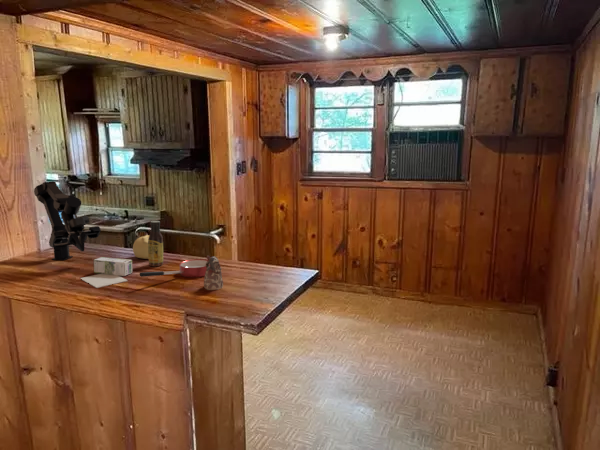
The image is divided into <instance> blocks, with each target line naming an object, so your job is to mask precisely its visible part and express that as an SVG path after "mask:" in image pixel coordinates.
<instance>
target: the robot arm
mask: <svg viewBox="0 0 600 450" xmlns="http://www.w3.org/2000/svg"><path fill="white" fill-rule="evenodd" d="M33 193H34V197H36V199H37V200H38V202H40V203H41V204H43V207H44V210H45V212H46V215H47V217H48V219H49V222H50V225H51V227H52V230H51V233H50V236H49V241H48V243H49V247H50V248H53V256H54V257H52V258H51V260H52V261H53V260H54V261H66V260H70V259H71V258H73V257H74V255H70V246H74V247H76V248H77V249H78V250H80V251H81V252H85V241H87V238H89V239H97V238H98V237H99V236H100V235H101V231H102V229H101V227H100V226H99V225H94V226H89V227H88V229H87V230H84V229H85V226H86V225H87V224H89V223H90V218H89V216H88V215H83V216H82V217H78V215H77V214H79V211H80V208H81V207H82V200H81V199H80V198H79V197H76V196H75V195H73V194H65V193H63V191H62V190H61V189H60V188H59V186H58V185H57V182H56V181H52V180H51V181H43V182H42V183H40V184H39V185H36V186H35V188H34V189H33ZM59 212H60V213H59Z"/></svg>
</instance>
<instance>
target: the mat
mask: <svg viewBox="0 0 600 450" xmlns="http://www.w3.org/2000/svg"><path fill="white" fill-rule="evenodd" d="M81 279H82V281H83V282H85V283H87V284H88V283H89V284H88V285H90V286H92V287H94V288H96V289H99V288H103V287H107V286H111V285H112V284H113V285H116V284H120V283H126V282H129V280H128V279H126V278H123V276H119V275H109V274H99V273H97V274H94V275H89V276H85V277H80V280H81Z"/></svg>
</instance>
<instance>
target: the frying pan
mask: <svg viewBox="0 0 600 450" xmlns="http://www.w3.org/2000/svg"><path fill="white" fill-rule="evenodd" d="M207 261H208V259H203V258H202V259H201V258H200V259H198V258H195V259H189V260H188V259H187V260H185V261H182V262H180V263H179V270H173V271H172V270H171V271H170V270H169V271H163V270H161V271H160V270H159V271H143V272H139V277H143V278H144V277H156V276H157V277H158V276H164V275H176V274H177V275H178V274H180V276H181V277H184V278H189V279H190V278H192V279H193V278H195V279H196V278H202V277H203V278H205V272H206V270H207V268H206V262H207ZM209 266H210V264H209Z"/></svg>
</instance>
